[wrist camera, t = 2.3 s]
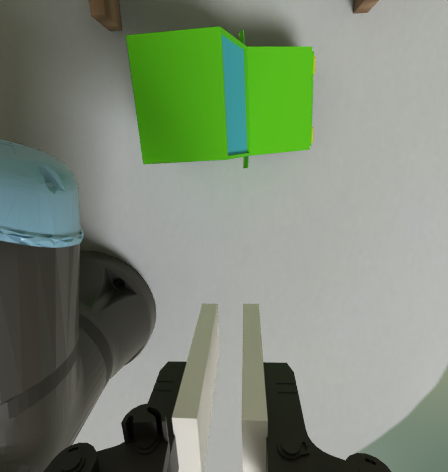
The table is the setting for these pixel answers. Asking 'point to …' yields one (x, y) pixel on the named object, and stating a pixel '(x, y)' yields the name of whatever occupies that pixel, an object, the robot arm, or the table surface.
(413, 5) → the table surface
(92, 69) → the table surface
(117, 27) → the bay
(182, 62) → the toy car
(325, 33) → the table surface
